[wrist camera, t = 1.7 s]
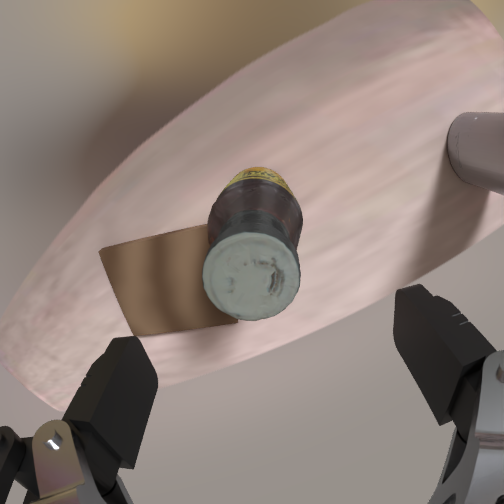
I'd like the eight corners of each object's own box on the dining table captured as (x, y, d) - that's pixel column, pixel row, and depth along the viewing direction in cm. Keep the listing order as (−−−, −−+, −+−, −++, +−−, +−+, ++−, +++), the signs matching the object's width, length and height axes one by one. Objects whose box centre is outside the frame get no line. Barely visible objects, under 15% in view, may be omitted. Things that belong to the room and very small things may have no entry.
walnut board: (213, 222, 31) (212, 225, 30) (238, 316, 36) (238, 322, 35) (102, 247, 32) (98, 251, 31) (136, 330, 37) (133, 335, 36)
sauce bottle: (299, 189, 30) (371, 271, 12) (263, 235, 32) (277, 368, 13) (248, 151, 29) (240, 172, 10) (212, 200, 31) (155, 297, 12)
